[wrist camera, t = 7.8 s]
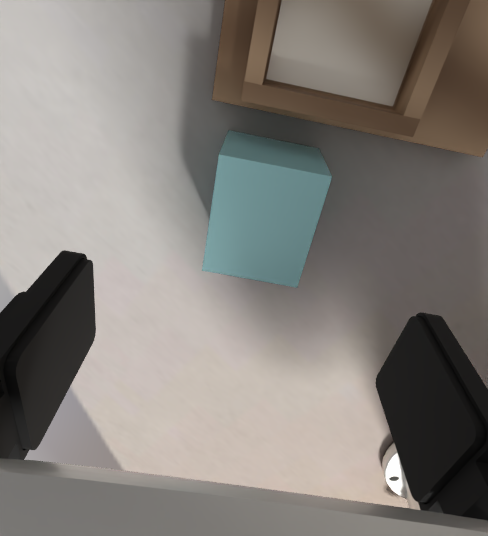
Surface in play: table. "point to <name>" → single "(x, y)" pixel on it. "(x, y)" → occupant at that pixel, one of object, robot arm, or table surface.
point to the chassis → (363, 66)
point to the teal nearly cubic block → (264, 208)
